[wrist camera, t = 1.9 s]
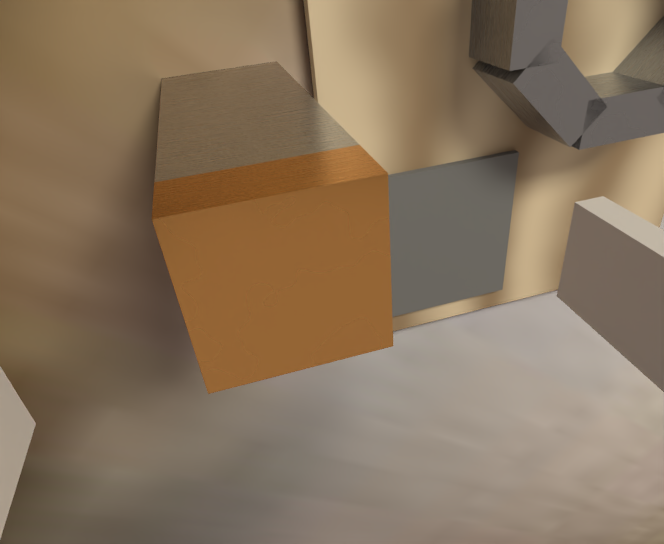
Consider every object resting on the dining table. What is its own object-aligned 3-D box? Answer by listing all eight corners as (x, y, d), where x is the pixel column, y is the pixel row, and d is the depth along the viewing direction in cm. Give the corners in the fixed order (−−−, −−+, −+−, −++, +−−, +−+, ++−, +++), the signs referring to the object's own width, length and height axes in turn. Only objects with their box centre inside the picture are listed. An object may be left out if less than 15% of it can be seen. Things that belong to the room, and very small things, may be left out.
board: (339, 335, 32) (343, 343, 31) (277, -238, 17) (281, -245, 17) (638, 261, 35) (647, 266, 35) (791, -261, 21) (811, -268, 20)
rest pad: (364, 319, 30) (366, 323, 30) (355, 181, 25) (357, 184, 25) (499, 286, 32) (502, 289, 32) (514, 149, 27) (519, 152, 27)
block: (190, 186, 24) (208, 393, 13) (161, 78, 21) (151, 219, 10) (291, 167, 25) (393, 346, 14) (276, 61, 22) (387, 173, 11)
